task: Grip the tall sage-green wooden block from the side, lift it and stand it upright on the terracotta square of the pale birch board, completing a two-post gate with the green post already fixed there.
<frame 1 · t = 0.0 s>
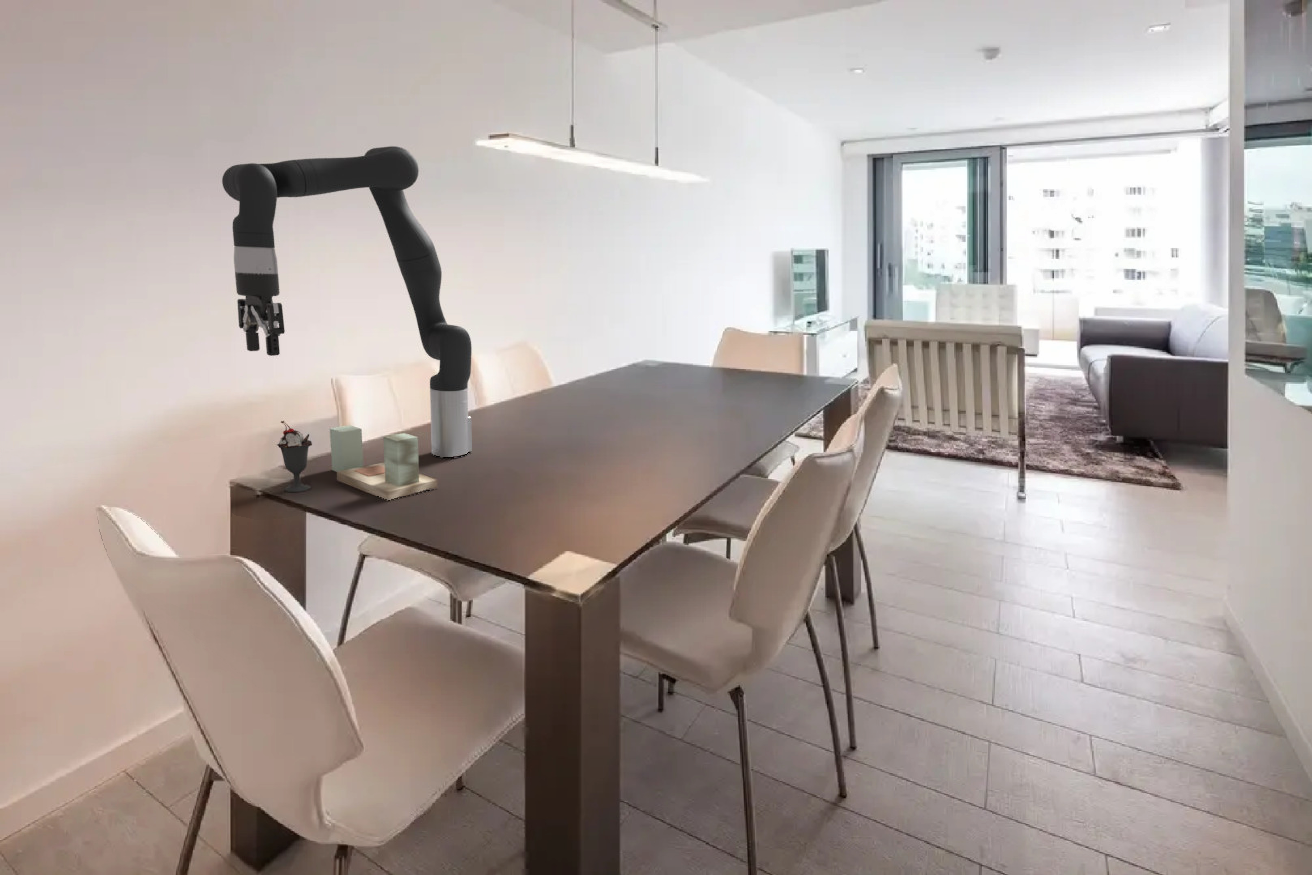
hand: (263, 353, 148), 29 cm above the table, tool pointing down, fingers open, 8 cm apart
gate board: (386, 484, 163), on the table
sundae: (297, 489, 157), on the table
green block: (347, 470, 172), on the table
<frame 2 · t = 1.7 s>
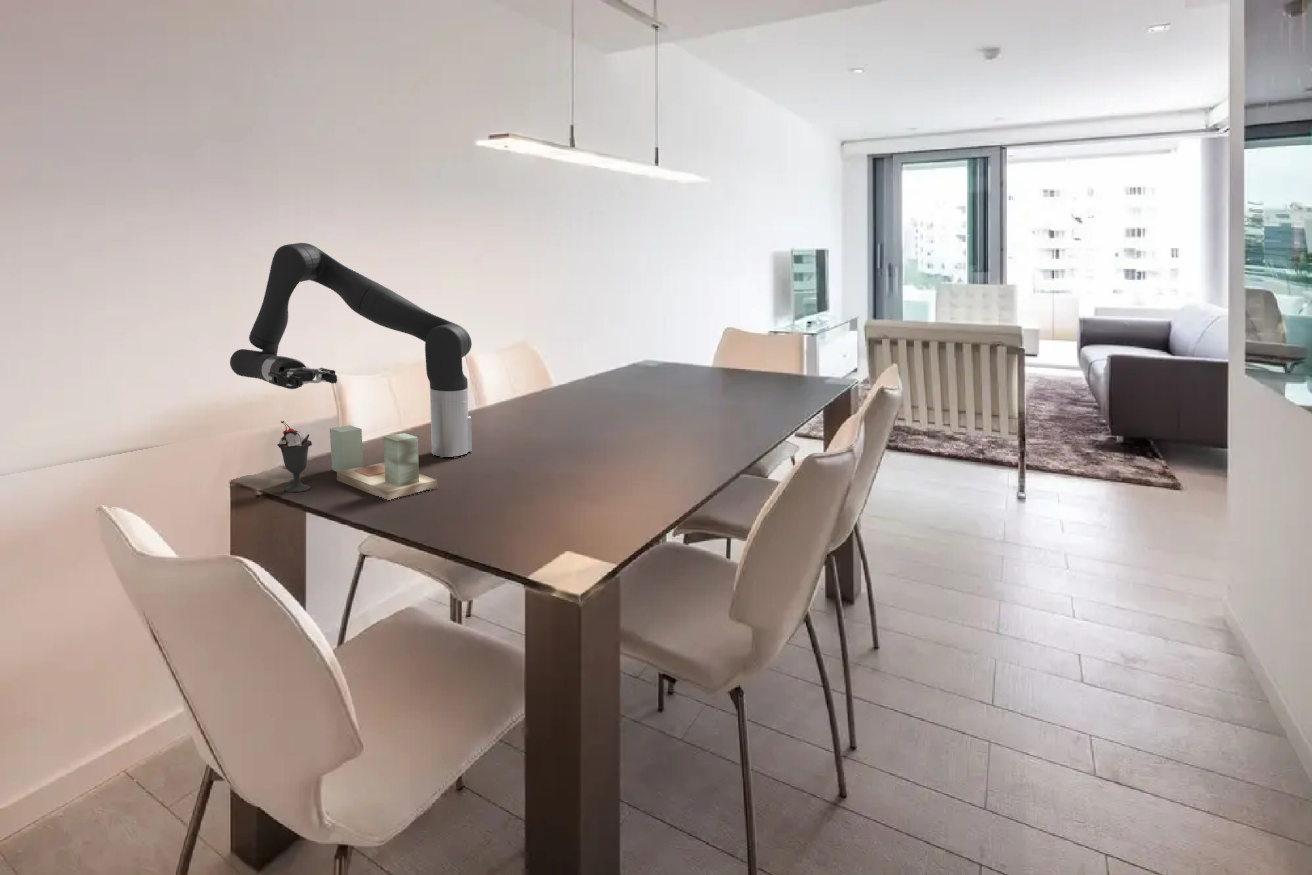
hand: (318, 380, 174), 20 cm above the table, tool horizontal, fingers open, 8 cm apart
nothing on the table moved.
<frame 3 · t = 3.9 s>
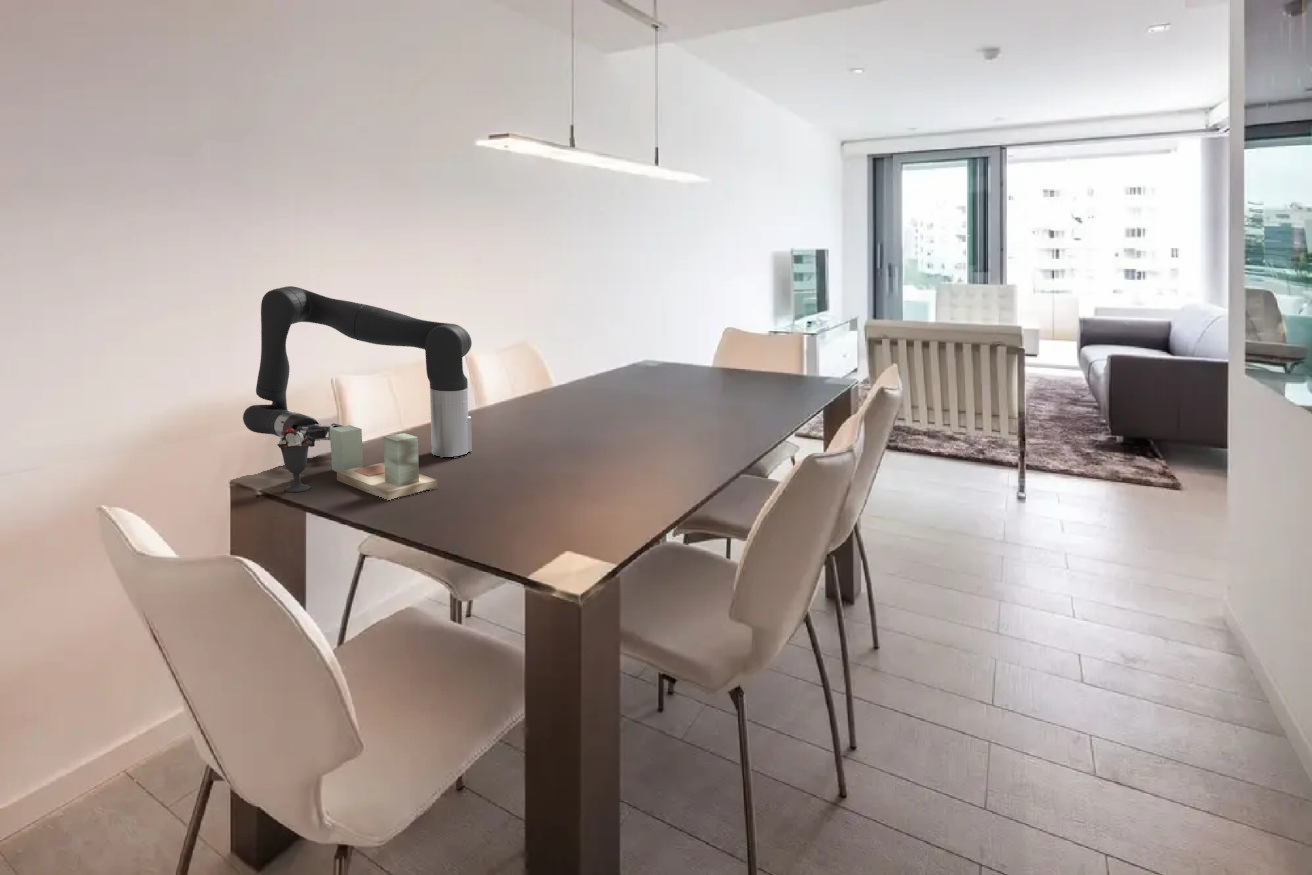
hand: (330, 439, 175), 6 cm above the table, tool horizontal, fingers open, 8 cm apart
nothing on the table moved.
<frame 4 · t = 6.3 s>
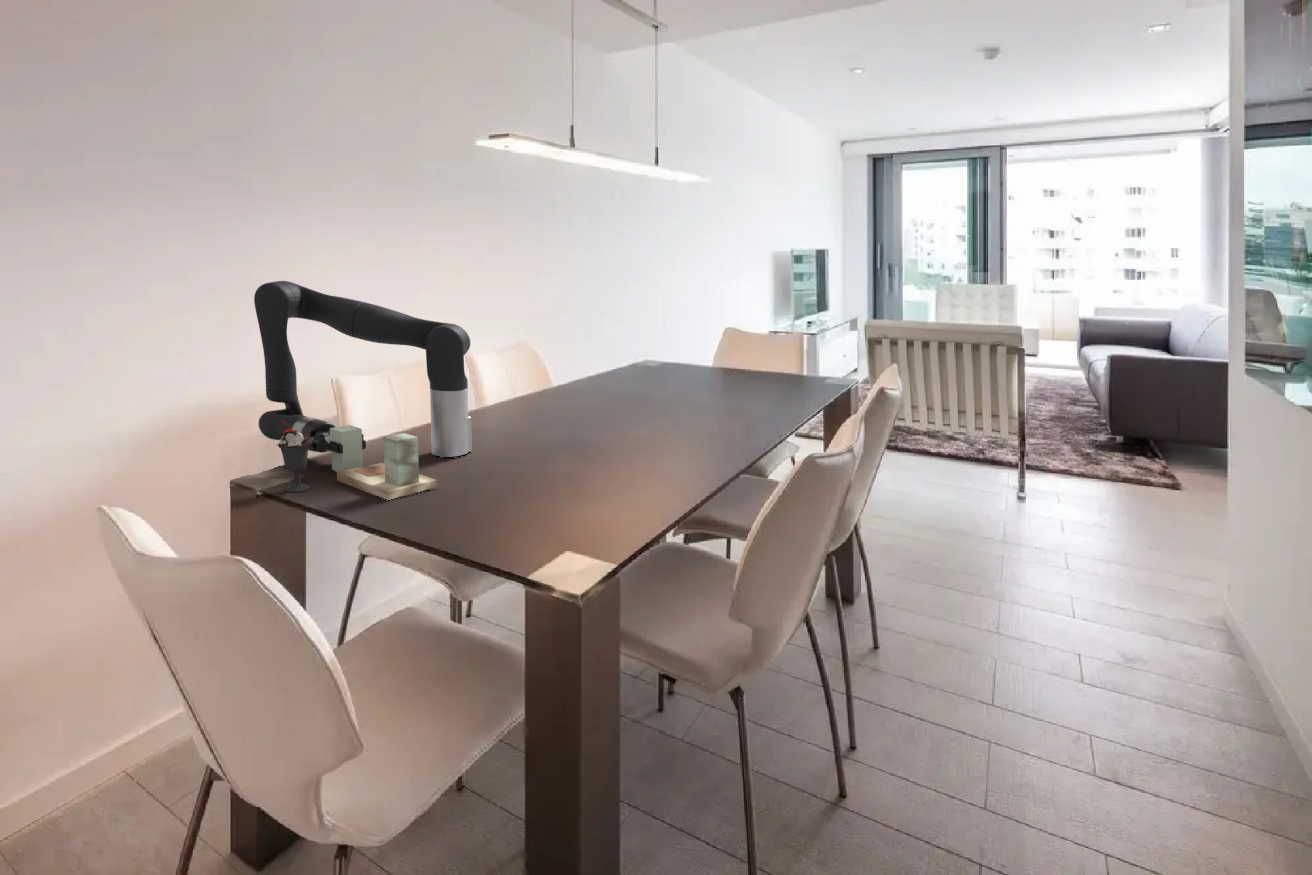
hand: (352, 447, 169), 6 cm above the table, tool horizontal, fingers closed on green block, 5 cm apart
green block: (348, 469, 172), on the table, touching gripper
everything else where it was.
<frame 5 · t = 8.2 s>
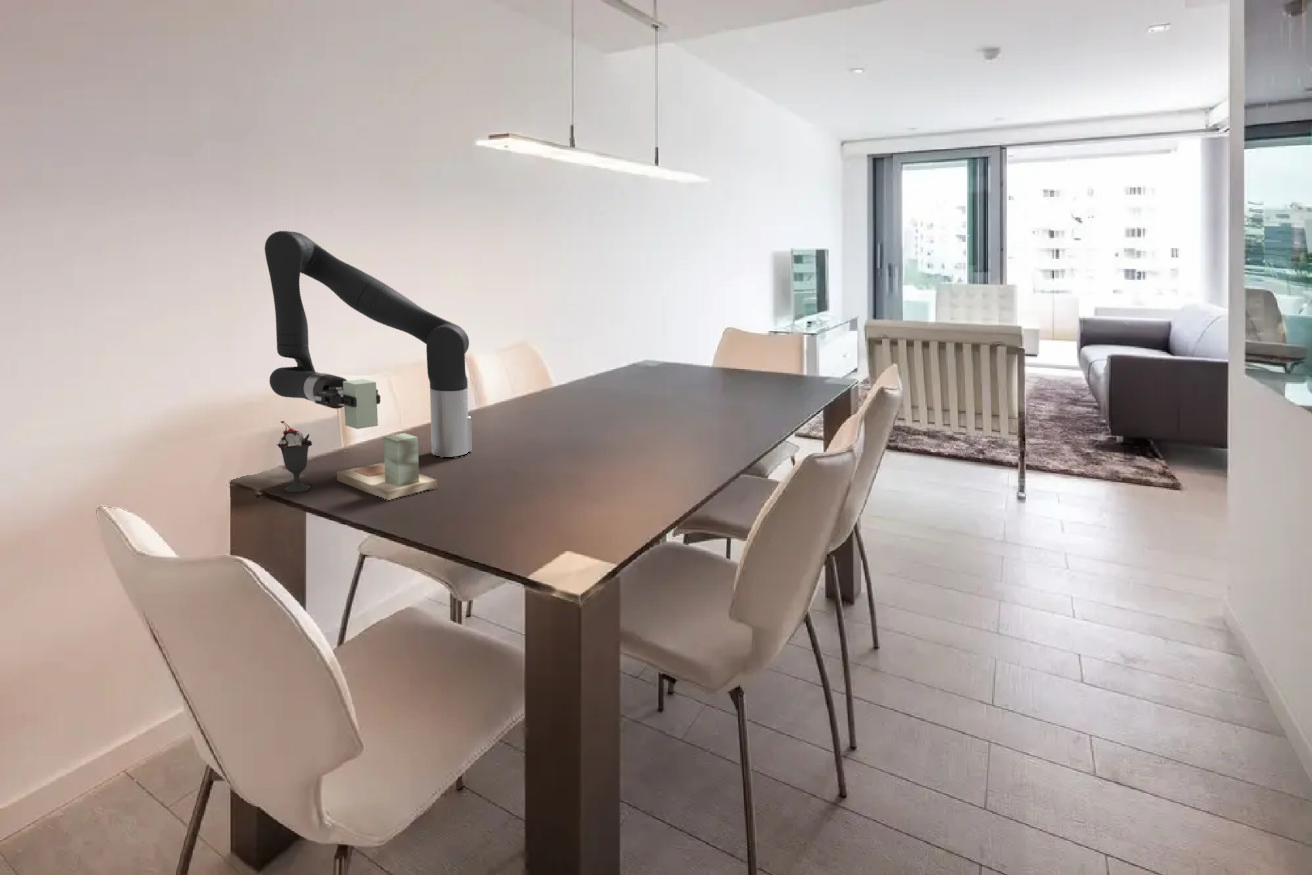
hand: (366, 400, 162), 18 cm above the table, tool horizontal, fingers closed on green block, 5 cm apart
green block: (361, 425, 165), point 12 cm above the table, touching gripper
everything else where it was.
when the fingers open (9 cm above the table, at t = 10.5 s): green block drops 1 cm, resting on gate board.
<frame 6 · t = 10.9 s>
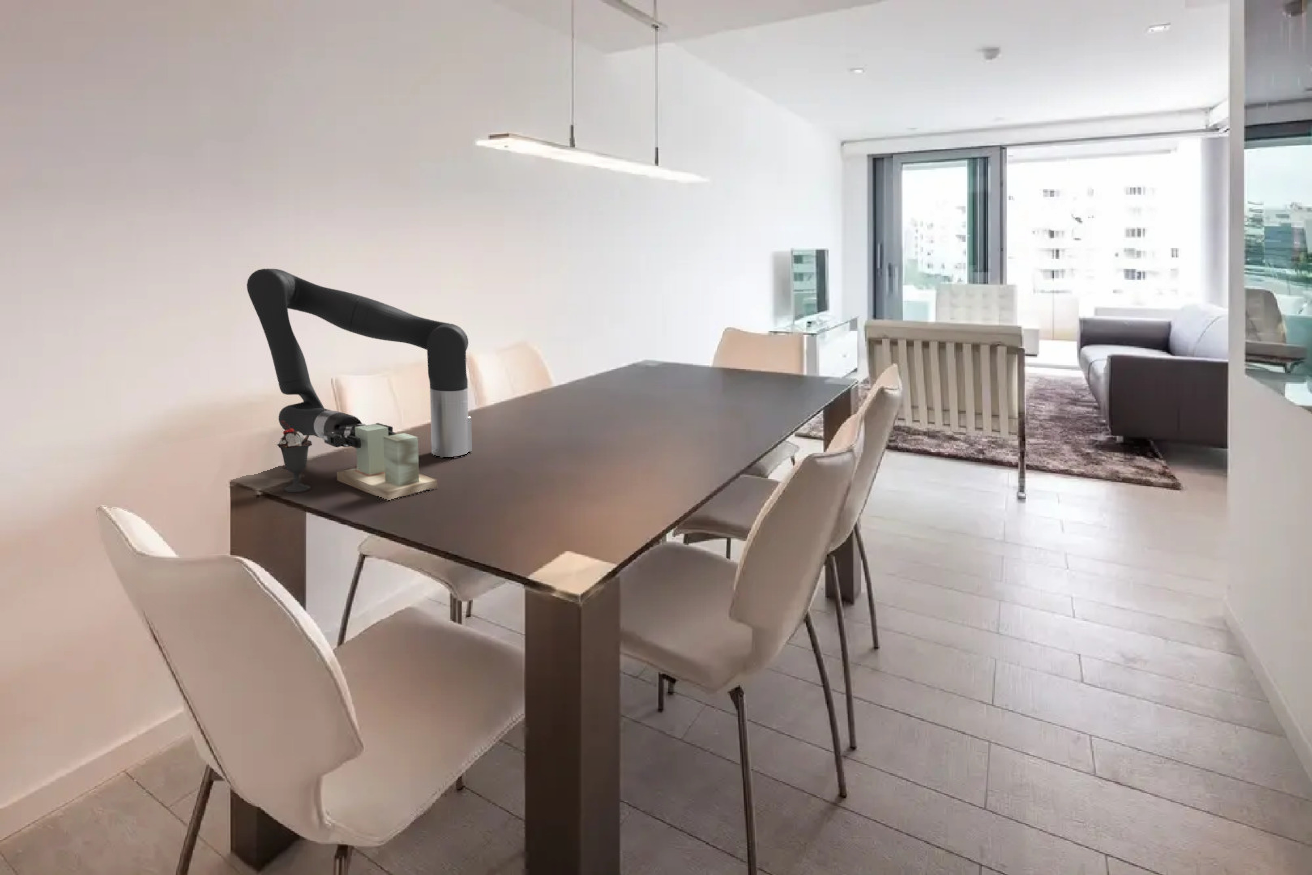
hand: (377, 440, 162), 10 cm above the table, tool horizontal, fingers open, 8 cm apart
green block: (373, 470, 165), point 2 cm above the table, touching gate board
everything else where it was.
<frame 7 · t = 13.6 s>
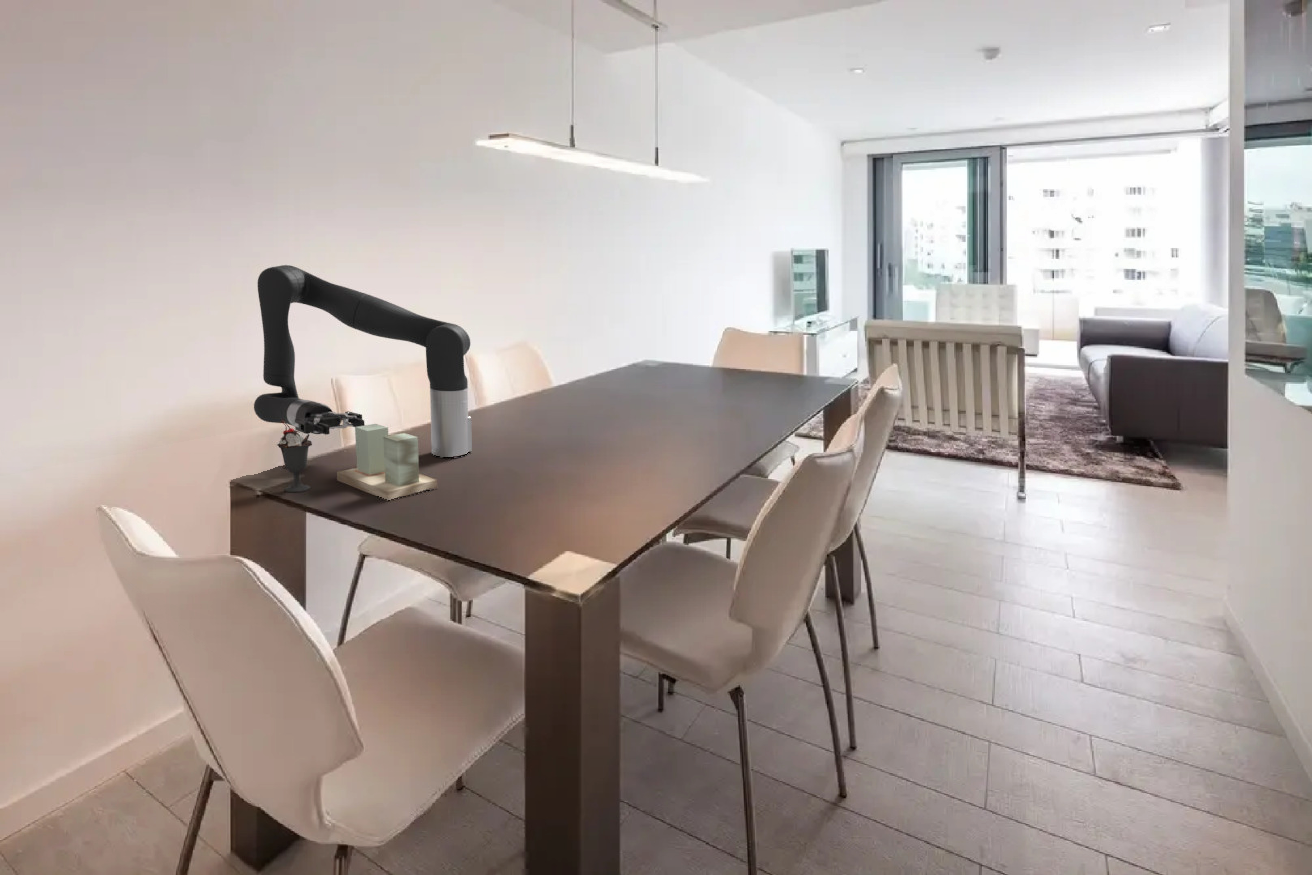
hand: (345, 427, 170), 10 cm above the table, tool horizontal, fingers open, 8 cm apart
nothing on the table moved.
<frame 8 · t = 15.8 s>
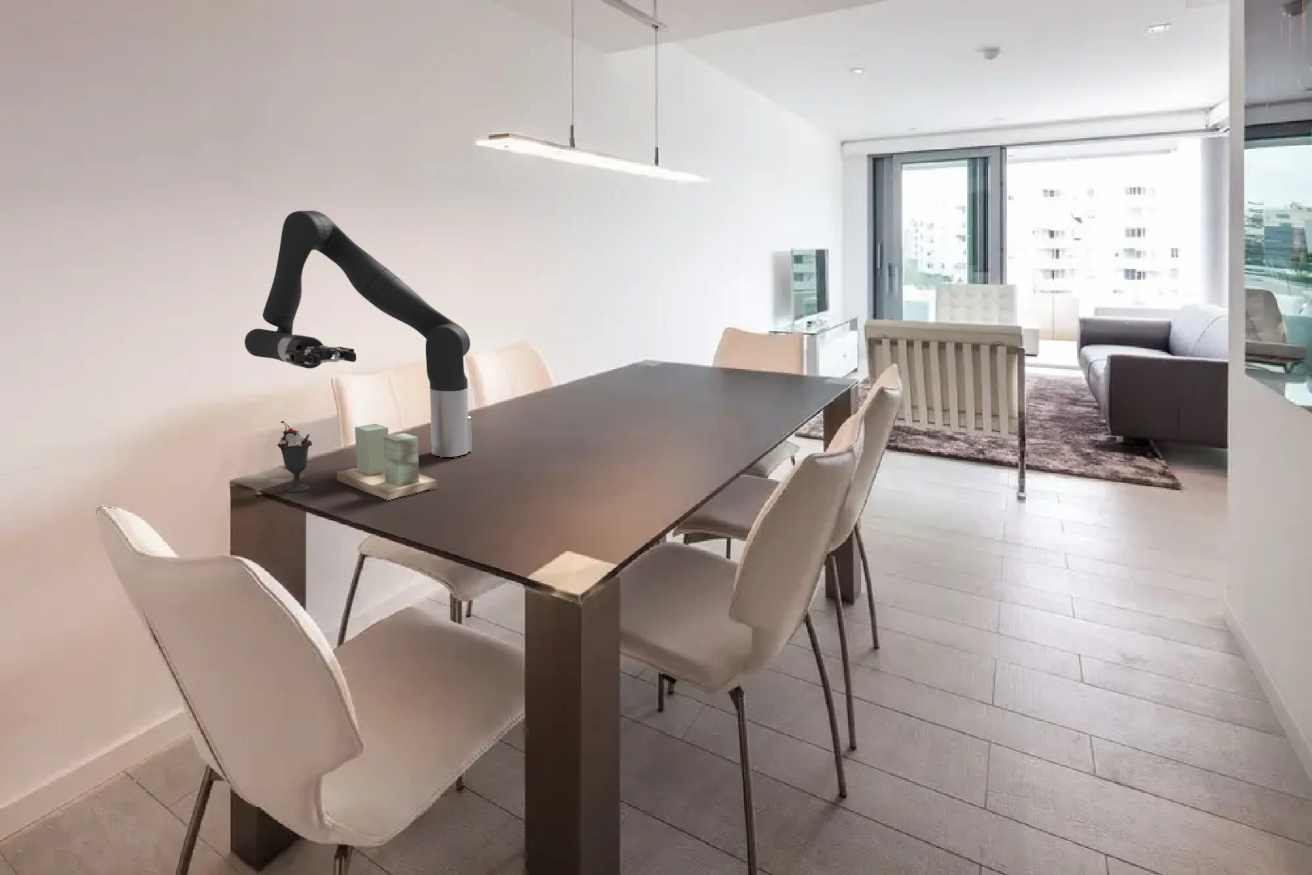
hand: (336, 358, 167), 26 cm above the table, tool horizontal, fingers open, 8 cm apart
nothing on the table moved.
at the end: green block 0.1 cm from the target spot on the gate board, point 2.2 cm above the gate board's base; green block tilted 0°; the gripper is holding nothing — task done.
